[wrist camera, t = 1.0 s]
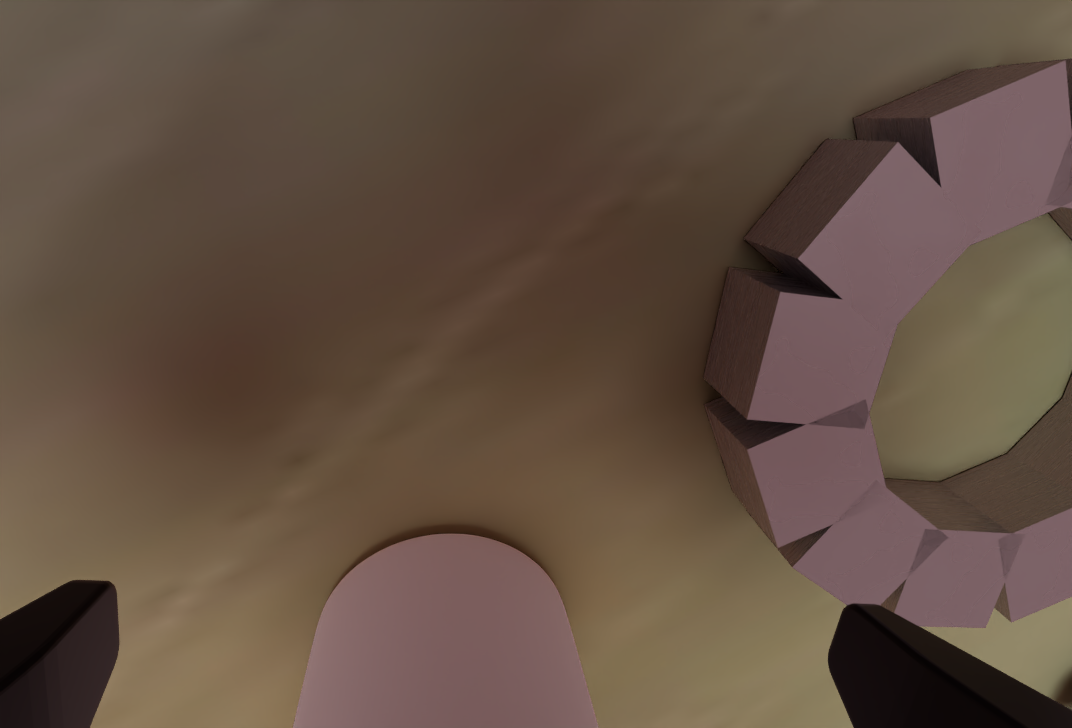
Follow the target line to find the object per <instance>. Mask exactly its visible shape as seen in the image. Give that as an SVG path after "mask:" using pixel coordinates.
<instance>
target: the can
mask: <svg viewBox="0 0 1072 728" xmlns="http://www.w3.org/2000/svg"><path fill="white" fill-rule="evenodd" d="M293 728H599V727H598V724H597V720H596V716H595V713H594V709H593V705H592V702H591V698H590V695H589V691H588V687H587V684H586V680H585V677H584V673H583V670H582V666H581V662H580V659H579V655H578V652H577V648H576V645H575V641H574V638H573V634H572V631H571V627H570V624H569V620H568V617H567V614H566V611H565V607H564V604H563V602H562V599H561V597H560V594H559V592H558V590H557V588H556V586H555V585H554V583H553V582H552V580H551V579H550V577H549V576H548V575H547V574H546V572H545V571H544V570H543V569H542V568H541V567H540V566H539V565H538V564H537V563H536V562H534V561H533V560H532V559H531V558H529V557H528V556H526V555H525V554H523V553H522V552H520V551H518V550H517V549H515V548H513V547H511V546H509V545H506V544H504V543H501V542H499V541H496V540H492V539H489V538H485V537H480V536H475V535H468V534H434V535H427V536H421V537H416V538H412V539H409V540H405V541H402V542H399V543H396V544H394V545H391V546H389V547H387V548H384V549H382V550H380V551H378V552H377V553H375V554H373V555H371V556H370V557H368V558H367V559H365V560H364V561H362V562H361V563H360V564H358V565H357V566H356V567H355V568H353V569H352V570H351V571H350V572H349V573H348V574H347V575H346V576H345V577H344V578H343V579H342V580H341V581H340V583H339V584H338V585H337V586H336V588H335V589H334V590H333V592H332V593H331V595H330V597H329V598H328V600H327V602H326V604H325V606H324V608H323V611H322V613H321V616H320V619H319V622H318V625H317V629H316V633H315V637H314V640H313V644H312V648H311V653H310V657H309V661H308V665H307V669H306V673H305V678H304V682H303V686H302V690H301V695H300V699H299V703H298V708H297V712H296V716H295V720H294V725H293Z"/></svg>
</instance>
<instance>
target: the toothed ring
mask: <svg viewBox="0 0 1072 728" xmlns="http://www.w3.org/2000/svg"><path fill="white" fill-rule="evenodd" d="M853 120H854V125H855V130H856V135H857V140H843V139H826V140H825V141H824V142H823V143H822V145H821V146H820V147H819V148H818V149H817V151H816V152H815V153H814V154H813V155H812V157H811V158H810V159H809V160H808V161H807V163H806V164H805V165H804V166H803V167H802V169H801V170H800V171H799V172H798V173H797V175H796V176H795V177H794V178H793V179H792V181H791V182H790V183H789V184H788V185H787V187H786V188H785V189H784V190H783V191H782V193H781V194H780V195H779V196H778V197H777V199H776V200H775V201H774V202H773V203H772V205H771V206H770V207H769V208H768V209H767V211H766V212H765V213H764V214H763V215H762V217H761V218H760V219H759V220H758V221H757V223H756V224H755V225H754V226H753V227H752V229H751V230H750V231H749V232H748V233H747V235H746V236H745V237H744V239H745V240H746V241H747V242H748V243H749V244H751V245H752V246H753V247H754V248H755V249H756V250H757V251H758V252H760V253H761V254H762V255H763V256H764V257H765V258H766V259H767V260H769V261H770V262H771V263H772V264H773V265H774V266H775V267H776V268H778V269H779V270H780V271H781V272H782V273H783V274H782V273H774V272H766V271H758V270H750V269H742V268H734V267H729V269H728V273H727V277H726V282H725V286H724V290H723V294H722V299H721V303H720V307H719V311H718V316H717V320H716V324H715V329H714V333H713V337H712V341H711V346H710V350H709V354H708V358H707V363H706V367H705V371H704V375H703V378H704V379H705V380H706V381H707V382H708V383H709V384H710V385H711V386H712V387H713V388H714V389H715V390H716V391H717V392H718V393H720V394H721V395H722V397H720V398H718V399H715V400H713V401H711V402H708V403H706V404H704V407H705V410H706V413H707V416H708V419H709V422H710V425H711V428H712V431H713V434H714V437H715V440H716V443H717V446H718V449H719V452H720V455H721V458H722V461H723V464H724V467H725V470H726V473H727V476H728V479H729V482H730V485H731V488H732V491H733V493H734V494H735V496H736V497H737V498H738V499H739V500H740V502H741V503H742V504H743V505H744V507H745V508H746V509H747V510H746V511H747V512H748V513H749V514H750V516H751V517H752V518H753V519H754V521H755V522H756V523H757V524H758V525H759V527H760V528H761V529H762V530H763V532H764V533H765V534H766V535H767V537H768V538H769V539H770V540H771V542H772V543H773V544H774V545H775V547H776V548H777V549H778V550H779V551H780V553H781V554H782V555H783V556H784V558H785V559H786V560H787V561H788V563H789V564H790V565H791V566H792V567H793V568H794V569H795V570H797V571H798V572H800V573H801V574H803V575H804V576H806V577H807V578H808V579H810V580H811V581H813V582H814V583H816V584H817V585H819V586H820V587H822V588H823V589H824V590H826V591H827V592H829V593H830V594H832V595H833V596H835V597H836V598H837V599H839V600H840V601H842V602H843V603H845V604H846V605H849V604H852V603H862V604H877V605H880V606H883V607H884V608H886V609H888V610H890V611H892V612H894V613H895V614H897V615H899V616H901V617H903V618H905V619H906V620H908V621H910V622H912V623H914V624H915V625H917V626H930V627H972V628H986V625H987V623H988V621H989V618H990V616H991V614H992V611H993V609H994V608H995V609H996V610H998V611H999V612H1000V613H1001V614H1002V615H1003V616H1004V617H1006V618H1007V619H1008V620H1009V621H1010V622H1013V621H1016V620H1018V619H1020V618H1023V617H1025V616H1028V615H1030V614H1032V613H1035V612H1037V611H1039V610H1042V609H1044V608H1046V607H1049V606H1051V605H1053V604H1056V603H1058V602H1060V601H1063V600H1065V599H1067V598H1070V597H1072V376H1071V379H1070V381H1069V384H1068V386H1067V388H1066V391H1065V393H1064V396H1063V398H1062V399H1061V400H1060V401H1059V402H1058V403H1057V404H1056V405H1055V406H1054V407H1053V408H1052V409H1051V410H1050V411H1049V412H1048V413H1047V414H1046V415H1045V416H1044V417H1043V418H1042V419H1041V420H1040V421H1039V422H1038V423H1037V424H1036V425H1035V426H1034V427H1033V428H1032V429H1031V430H1030V431H1029V432H1028V433H1027V434H1026V435H1025V436H1024V437H1023V438H1022V439H1021V440H1020V441H1019V442H1018V443H1017V445H1016V446H1015V447H1014V448H1013V449H1012V450H1011V451H1010V452H1009V453H1008V454H1005V455H1003V456H1001V457H998V458H996V459H994V460H991V461H989V462H987V463H984V464H982V465H980V466H977V467H975V468H973V469H970V470H968V471H966V472H963V473H961V474H959V475H956V476H954V477H952V478H949V479H947V480H945V481H942V482H927V481H912V480H897V479H884V476H883V472H882V467H881V463H880V459H879V454H878V450H877V446H876V441H875V437H874V433H873V428H872V424H871V419H870V415H869V412H870V409H871V406H872V403H873V400H874V397H875V394H876V390H877V387H878V384H879V381H880V378H881V375H882V372H883V369H884V366H885V362H886V359H887V356H888V353H889V350H890V347H891V344H892V341H893V338H894V334H895V331H896V328H897V325H898V323H899V322H900V321H901V320H902V319H903V318H904V317H905V316H906V314H907V313H908V312H909V311H910V310H911V309H912V308H913V307H914V306H915V305H916V303H917V302H918V301H919V300H920V299H921V298H922V297H923V296H924V295H925V294H926V292H927V291H928V290H929V289H930V288H931V287H932V286H933V285H934V284H935V283H936V281H937V280H938V279H939V278H940V277H941V276H942V275H943V274H944V273H945V272H946V270H947V269H948V268H949V267H950V266H951V265H952V264H953V263H954V262H955V261H956V259H957V258H958V257H959V256H960V255H961V254H962V253H963V252H964V251H965V250H966V248H967V247H968V246H970V245H972V244H975V243H977V242H979V241H982V240H984V239H986V238H989V237H991V236H993V235H996V234H998V233H1000V232H1003V231H1005V230H1007V229H1010V228H1012V227H1014V226H1017V225H1019V224H1022V223H1024V222H1026V221H1029V220H1031V219H1033V218H1036V217H1038V216H1040V215H1043V214H1045V213H1047V212H1048V213H1049V214H1050V215H1051V216H1052V217H1053V219H1054V220H1055V221H1056V222H1057V223H1058V224H1059V225H1060V227H1061V228H1062V229H1063V230H1064V231H1065V232H1066V233H1067V235H1068V236H1069V237H1070V238H1071V239H1072V59H1063V60H1053V61H1043V62H1032V63H1022V64H1012V65H1002V66H997V67H990V68H980V69H969V70H966V71H963V72H961V73H959V74H956V75H954V76H952V77H949V78H947V79H945V80H942V81H940V82H938V83H935V84H933V85H931V86H928V87H926V88H923V89H921V90H919V91H916V92H914V93H912V94H909V95H907V96H905V97H902V98H900V99H898V100H895V101H893V102H891V103H888V104H886V105H884V106H881V107H879V108H877V109H874V110H872V111H869V112H867V113H865V114H862V115H860V116H858V117H855V118H853Z"/></svg>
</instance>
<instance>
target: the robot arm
mask: <svg viewBox="0 0 1072 728" xmlns="http://www.w3.org/2000/svg"><path fill="white" fill-rule="evenodd" d="M118 651H119V623H118V605H117V591H116V589H115V586H114V585H113V584H112V583H111V582H110V581H96V580H73V581H70V582H68V583H65V584H63V585H62V586H60V587H58V588H56V589H54V590H53V591H51V592H49V593H47V594H45V595H44V596H42V597H40V598H38V599H36V600H34V601H33V602H31V603H29V604H27V605H25V606H24V607H22V608H20V609H18V610H16V611H14V612H13V613H11V614H9V615H7V616H5V617H4V618H2V619H0V728H90V726H91V723H92V721H93V718H94V716H95V713H96V711H97V708H98V706H99V703H100V701H101V698H102V696H103V693H104V691H105V688H106V686H107V683H108V681H109V678H110V676H111V673H112V671H113V668H114V666H115V663H116V660H117V656H118ZM828 665H829V670H830V673H831V676H832V678H833V680H834V683H835V685H836V687H837V690H838V692H839V694H840V697H841V699H842V701H843V704H844V706H845V708H846V711H847V713H848V715H849V718H850V720H851V722H852V725H853V727H854V728H1072V710H1070V709H1069V708H1067V707H1065V706H1063V705H1061V704H1059V703H1058V702H1056V701H1054V700H1052V699H1050V698H1049V697H1047V696H1045V695H1043V694H1041V693H1039V692H1038V691H1036V690H1034V689H1032V688H1030V687H1029V686H1027V685H1025V684H1023V683H1021V682H1019V681H1018V680H1016V679H1014V678H1012V677H1010V676H1008V675H1007V674H1005V673H1003V672H1001V671H999V670H998V669H996V668H994V667H992V666H990V665H988V664H987V663H985V662H983V661H981V660H979V659H977V658H976V657H974V656H972V655H970V654H968V653H967V652H965V651H963V650H961V649H959V648H957V647H956V646H954V645H952V644H950V643H948V642H946V641H945V640H943V639H941V638H939V637H937V636H936V635H934V634H932V633H930V632H928V631H926V630H925V629H923V628H921V627H919V626H917V625H915V624H914V623H912V622H910V621H908V620H906V619H905V618H903V617H901V616H899V615H897V614H895V613H894V612H892V611H890V610H888V609H886V608H884V607H883V606H880V605H877V604H862V603H852V604H849V605H847V606H846V607H845V608H844V609H843V611H842V613H841V616H840V619H839V622H838V625H837V628H836V631H835V634H834V637H833V640H832V643H831V646H830V649H829V652H828Z"/></svg>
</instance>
